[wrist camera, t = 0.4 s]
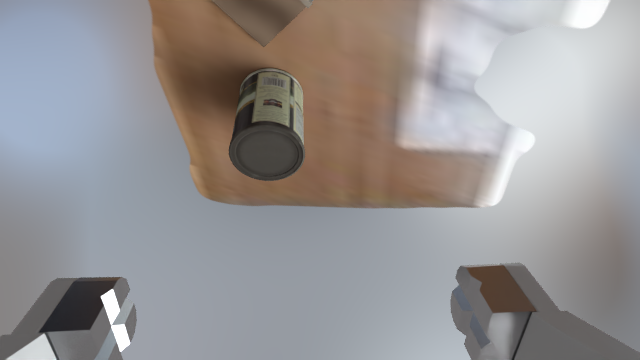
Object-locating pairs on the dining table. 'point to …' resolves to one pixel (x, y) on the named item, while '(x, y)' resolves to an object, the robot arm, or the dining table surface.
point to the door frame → (263, 15)
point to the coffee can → (268, 126)
